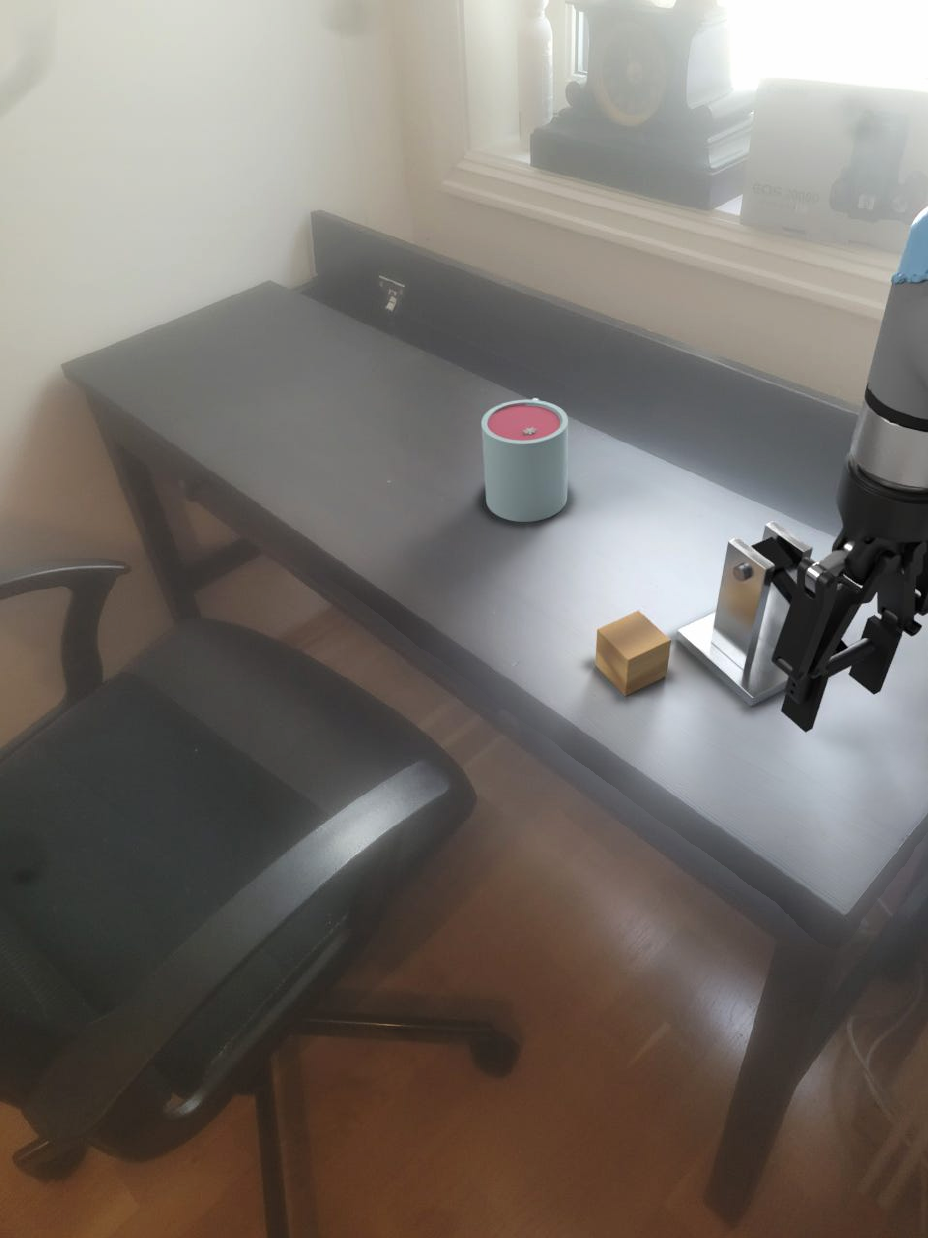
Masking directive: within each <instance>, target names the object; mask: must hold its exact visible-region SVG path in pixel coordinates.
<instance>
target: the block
mask: <svg viewBox="0 0 928 1238" xmlns="http://www.w3.org/2000/svg"><path fill="white" fill-rule="evenodd" d="M595 642H596V645H595V662H594V663H595V667H597V668H598V670H599V671H600V672H601V673H602V674H603V675H604V676H605V677H606V678H607V680H609V682H611V683H612V684H613V685H614V687H616V689H618V691H619V692H620V693H622V695H623V696H624V697H627V696H629V695H632V694H633V693H635V692H637V691H639V690H641V689H643V688H645V687H647V686H649V685H652V684H653V683H655V682H658V681H660V680H662V679H663V678H665V677H667V675H668V669H669V660H670V652H671V646H672V639H671V638H670V637H669V636H668V635H667V634H665V632H663V631H662V630H661V629H660V628H659V627H658V626H657V625H656V624H655V623H654V622H652V621H651V620H650V619H649V618H648V617H647V616H646V615H645V614H644V613H643V612H642V611H640V610H636V611H634V612H632V613H630V614H628V615H626V616H623V617H621V618H619V619H617V620H615V621H612V622H610V623H608V624H606V625H603V626H601V627H599V628H597V629H596V641H595Z"/></svg>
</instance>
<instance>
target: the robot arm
mask: <svg viewBox="0 0 928 1238" xmlns="http://www.w3.org/2000/svg"><path fill="white" fill-rule="evenodd" d="M899 260H900V261H899V264H898V266H897V270H896V271H895V272H894V273H893V275H891V277H890V283H891V285H890V289H889V292H888V297H887V301H886V305H885V307H884V313H883V317H882V321H881V325H880V329H879V333H878V336H877V341H876V344H875V348H874V352H873V356H872V359H871V364H870V368H869V373H868V376H867V379H866V380H867V383H866V386H865V390H864V396H863V399H862V402H861V406H860V409H859V412H858V416H857V419H856V423H855V427H854V430H853V434H852V437H851V441H850V448H849V449H850V451H849V452H848V453H847V455H846V457H845V460H844V464H843V467H842V472H841V475H840V478H839V483H838V486H837V489H836V494H835V504H836V505H835V506H836V508H837V511H838V513H839V516H840V519H841V523H842V528H841V529H840V532H839V533H838V535H837V537H836V539H834V541H833V543H832V546H831V553H830V554H828V555H827V556H825V557H824V558H822V559H821V560H819V561H818V562H817V561H815V560H813V558H812V557H811V558H809V557H807V558H805V559H803V560H802V561H801V562H800V563H799V565H798V567H797V586H796V589H795V592H794V595H793V598H792V601H791V604H790V607H789V610H788V612H787V615H786V618H785V621H784V624H783V627H782V630H781V633H780V636H779V638H778V641H777V644H776V647H775V650H774V653H773V656H772V659H771V661H772V663H774V664H775V665H776V666H777V667H778V668H780V669H781V670H782V671H783V672H784V673H785V674H787V675H788V680H787V683H786V684H787V685H786V687H785V689H784V693H785V694H784V698H783V701H782V706H781V708H780V712H781V713H782V714H784V716H786V717H787V718H788V719H789V720H790V721H791V722H792V723H794V724H795V725H796V726H797V727H798V728H799V729H800V730H802V731H803V732H804V733H807V732H809V731H812V730H813V729H814V725H815V723H816V719H817V716H818V713H819V710H820V706H821V703H822V700H823V697H824V694H825V690H826V687H827V684H828V681H829V679H830V678H829V675H830V672H829V671H827V670H826V669H825V667H826V665H827V663H828V661H829V660H830V658H831V656H832V654H833V653H834V651H835V649H836V648H837V646H838V644H839V642H840V641H841V639H842V640H843V637H844V636H845V634H846V632H847V630H848V629H849V627H850V625H851V623H852V622H853V620H854V619H855V617H856V616H857V613H858V612H859V610H860V608H861V607H862V605H864V604H869V603H871V602H872V601H873V599H874V598H875V596H876V607H877V608H876V610H877V614H879V615H880V616H881V617H878V616H877V615H875V614H873V615H872V616H869V617H867V619H866V622H865V624H864V627H863V631H862V634H861V637H860V639H859V640H861V639H863V638H867V639H869V640H871V641H872V642H873V643H874V645H875V649H876V650H875V653H874V654H873V655H871V656H869V657H867V658H865V659H863V660H862V661H860V662H858V663H856V664H854V665H852V666H850V669H849V671H848V676H849V677H851V678H852V679H853V680H854V681H856V682H857V683H858V684H860V686H862V687H863V688H865V690H867V691H868V692H869V693H870V694H872V695H874V696H875V695H877V694H878V693H880V692H881V691H882V688H883V686H884V683H885V681H886V678H887V676H888V673H889V670H890V668H891V666H892V663H893V660H894V657H895V655H896V652H897V650H898V647H899V644H900V642H901V639H902V637H903V633H905V634H906V635H908V636H910V637H914V636H916V635H917V634H918V633H919V632H920V631H921V630H922V628H923V625H922V624H921V623H920V622H918V621H916V620H915V616H916V615H917V614H918V615H920V616H922V617H924V616H926V615H927V614H928V206H927V207H926V208H923V210H922V211H920V213H919V214H918V215H917V216H916V217H915V219H914V220H913V221H912V224H911V226H910V229H909V233H908V236H907V238H906V242H905V244H904V248H903V251H902V254H901V257H900V259H899ZM916 591H918V592H919V593H920V594H919V593H918V592H916Z"/></svg>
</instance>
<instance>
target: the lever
mask: <svg viewBox="0 0 928 1238" xmlns="http://www.w3.org/2000/svg"><path fill="white" fill-rule="evenodd" d="M750 547H751V548H753V549H754V550H755V551H757V552H758V553H759V554H761V555H762V556H763V557H765V558H766V559H768V560H769V561H770V562H772V563H773V564H774V565H775V568H774V573H773V577H772V583H773V584H774V586H775V587H776V588H777V589H778V591H779V592H780V593H781V594H782V596H783V597H784V598H785V599H786V601H787V602H788V603H789V604H791V601H792V598H793V595H794V592H795V589H796V586H797V584H796V583H795V581H794V580H793V579H792V578H791V576H790V575H789V574H788V573H787V572H786V570H787V568H788V567H789V566H790V565H791V563H792V562H793V561H792V560H791V559H790V557H789V556H788V555H787V554H786V553H785V551H784V550H783V549H782V548H781V546H780V545H779V544H778V543H777V542H776V540H775V539H774V538H773V537H772V536H771V537H769V538H767V539H764V540H762V539H761V540H760V541H758V542H756V543H754V544H751V545H750ZM860 639H861V638H860ZM860 639H859V640H858V641H855V642H854V643H853V642H852V643H851V644H850V645H847V644H846V642H845V641H844V640H843V638H842V639H841V641H840V642H839V644H838V646H837V648H836V649H835V651H834V653H833V654H832V656H831V658H830V660H829V661H828V663H827V665H826V667H825V669H826V670H827V671H829V672H830V675H829V678H828V679H830V678H831V677H833V676H835V675H837V674H839V673H841V672H843V671H845V670H847V669H849V668H851V666H852V665H854V664H856V663H858V662H860V661H862V660H863V659H865V658H867V657H869V656H871V655H873V654H874V653H875V650H876V649H875V645H874V643H873V642H872V641H871V640H869V639H867V638H863V639H861V640H860Z"/></svg>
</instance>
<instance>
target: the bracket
mask: <svg viewBox="0 0 928 1238" xmlns="http://www.w3.org/2000/svg"><path fill="white" fill-rule="evenodd" d="M771 536H772V537H773V538H774V539H775V540H776V542H777V543H778V544H779V545H780V546H781V548H782V549H783V550H784V551H785V553H786V554H787V555H788V556H789V557H790V559H791V560H792V561H793V562H792V563H791V565H790V566H789V567H788V568H787V570H786V572H787V573H788V574H789V575H790V576H791V578H792V579H793V580H794V581H795V583H796V584H797V567H798V565H799V563H800V562H801V561H802V560H803V559H805V558H807V557H809V558H811V559H812V554H813V550H814V547H813V546H812V545H811V544H809V543H807V542H806V541H804V540H803V539H802V538H800V537H799V536H797V535H796V534H794V533H793V532H791V531H790V530H789V529H787V528H785V527H784V526H783V525H782V524H780V523H778V522H777V521H776V520H772V521H770V522H768V523H766V524H765V525H764V530H763V534H762V538H761V541H762V540H764V539H767V538H769V537H771ZM774 568H775V565H774V564H773V563H772V562H770V561H769V560H768V559H766V558H765V557H763V556H762V555H761V554H759V553H758V552H757V551H755V550H754V549H753V548H751V545H749V544H747V543H746V542H744V541H743V540H742V539H741V538H739V537H734V538H732V539H730V540H728V541H727V545H726V553H725V556H724V563H723V568H722V574H721V581H720V584H719V590H718V591H719V592H718V598H717V603H716V607H715V608H716V609H715V612H713V613H711V614H708V615H706V616H704V617H702V618H700V619H698V620H695V621H694V622H692V623H689V624H687V625H685V626H683V627H681V628H678V629H677V631H676V638H675V639H676V640H677V641H678V642H679V643H680V644H681V645H682V646H683V647H684V648H686V650H687V651H689V652H690V653H691V654H692V655H693V656H694V657H695V658H696V659H697V660H699V661H700V662H701V663H702V664H703V665H704V667H706V668H708V670H709V671H711V672H712V674H714V675H715V676H716V677H717V678H718V679H719V680H721V681H722V682H723V684H725V685H726V686H727V687H728V688H729V689H731V691H733V692H734V693H735V695H737V696H738V697H739V698H740V699H741V700H743V701H744V702H745V703H746V705H748V706H749V707H750V708H752V707H754V706H756V705H757V704H760V703H761V702H763V701H765V700H767V699H770V698H771V697H773V696H775V695H777V694H779V693H781V692H782V691H785V687H786V685H787V684H786V683H787V680H788V675H787V674H785V673H784V672H783V671H782V670H781V669H780V668H778V667H777V666H776V665H775V664H774V663H772V661H771V659H772V656H773V653H774V650H775V647H776V644H777V641H778V638H779V636H780V633H781V630H782V627H783V624H784V621H785V618H786V615H787V612H788V610H789V607H790V604H789V603H788V602H787V601H786V599H785V598H784V597H783V596H782V594H781V593H780V592H779V591H778V589H777V588H776V587H775V586H774V584H773V583H772V577H773V573H774Z"/></svg>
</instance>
